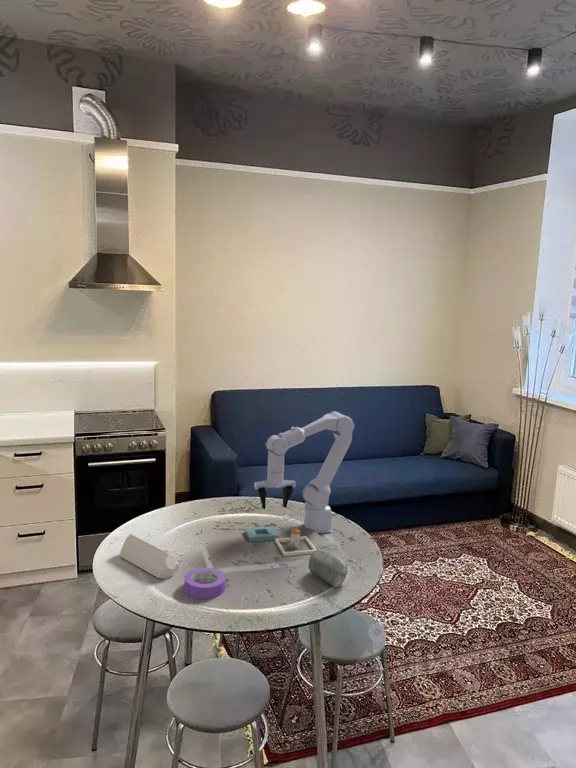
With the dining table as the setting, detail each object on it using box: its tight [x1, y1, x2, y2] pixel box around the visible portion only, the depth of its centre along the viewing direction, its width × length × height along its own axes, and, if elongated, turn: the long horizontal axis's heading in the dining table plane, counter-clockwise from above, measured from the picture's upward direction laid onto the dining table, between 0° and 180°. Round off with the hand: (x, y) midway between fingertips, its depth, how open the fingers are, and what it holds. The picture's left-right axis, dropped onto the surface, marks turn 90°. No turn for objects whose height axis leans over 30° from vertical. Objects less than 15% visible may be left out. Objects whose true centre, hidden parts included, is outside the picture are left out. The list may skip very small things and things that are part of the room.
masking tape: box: [183, 567, 226, 600], centre depth 169 cm, size 12×12×4 cm
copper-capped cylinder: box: [289, 527, 301, 550], centre depth 195 cm, size 3×3×7 cm
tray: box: [274, 535, 318, 557], centre depth 195 cm, size 11×11×2 cm
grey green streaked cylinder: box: [308, 548, 348, 587], centre depth 177 cm, size 14×10×10 cm
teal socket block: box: [244, 525, 280, 543], centre depth 203 cm, size 10×8×3 cm
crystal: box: [119, 533, 180, 579], centre depth 181 cm, size 7×7×24 cm
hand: (274, 507), depth 206 cm, fingers open, 7 cm apart
